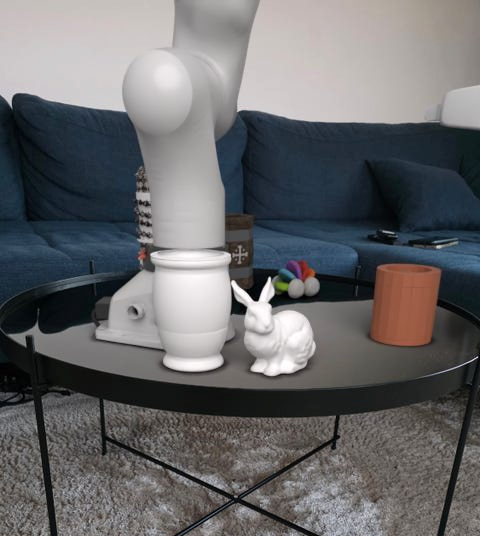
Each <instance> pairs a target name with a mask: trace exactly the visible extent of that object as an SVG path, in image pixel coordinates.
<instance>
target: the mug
mask: <svg viewBox="0 0 480 536" xmlns="http://www.w3.org/2000/svg"><path fill="white" fill-rule="evenodd" d="M254 224H255V215H253V214H246V213H226V212H225V244H226V245H227V246H228V253H229V254H231V262H230V263H229V278H230V284H231V282H232V280H234V281H235V282H236V284H237V285H238V286H239V287H240V288H241V289H243V290H244V291H245V290H250V289H251V288H252V287H253V286H254V285H255V284H254V273H253V272H254V268H253V267H254V266H253V265H254V256H255V255H254V253H255V247H254V246H255V245H254ZM231 292H234V289H233V287H232V285H231Z"/></svg>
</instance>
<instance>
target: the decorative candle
mask: <svg viewBox="0 0 480 536" xmlns="http://www.w3.org/2000/svg"><path fill="white" fill-rule="evenodd" d="M134 176H135V178H136V183H135V184H136V191H135V198H133V200H132V201H133V203H134V204H136V205H137V206H135V207H134V208H133V213H135V215H136V216H135V217H134V218H133V220H134V221H135V223H136V224H138V226H137V227H136V228H135V233H136V234H137V236H136V241H137V242H139V244H140V246H139V252H141V251H142V250H144V249H145V248H147V247H149V246H150V245H151V244H153V236H152V218H151V202H150V191H149V184H148V179H147V174H146V170H145V166H144V165H141V166H140V167H139V168H138V170H137V172H136V173H135V174H134ZM138 269H139V271H140V272H141V271H142V270H143V269H144V268H143V259H141V260H139V265H138Z"/></svg>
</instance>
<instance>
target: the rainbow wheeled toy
mask: <svg viewBox="0 0 480 536" xmlns="http://www.w3.org/2000/svg"><path fill="white" fill-rule="evenodd" d="M277 274H278V275H276V276H274V277H273V278H272V279H271V283H272V285H273V288H274V294H276V295H282V294H284V293H285V292H287V293H288V296H289V297H290V298H291V299H293V300H295V299H299V298H301V297H302V296H303V295H305V296H306V297H313V296H316V295H317V294H318V293H319V291H320V289H321V288H320V286H321V285H320V282H319V280H318V279H317V278H316V277H315V276H316V271H315V270H314V269H313V268H309V264H308V262H306V260H299V261H295V260H293V259H292V260H289V261H288V262H287V263H286V265H285V268H279V270H278V271H277Z"/></svg>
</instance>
